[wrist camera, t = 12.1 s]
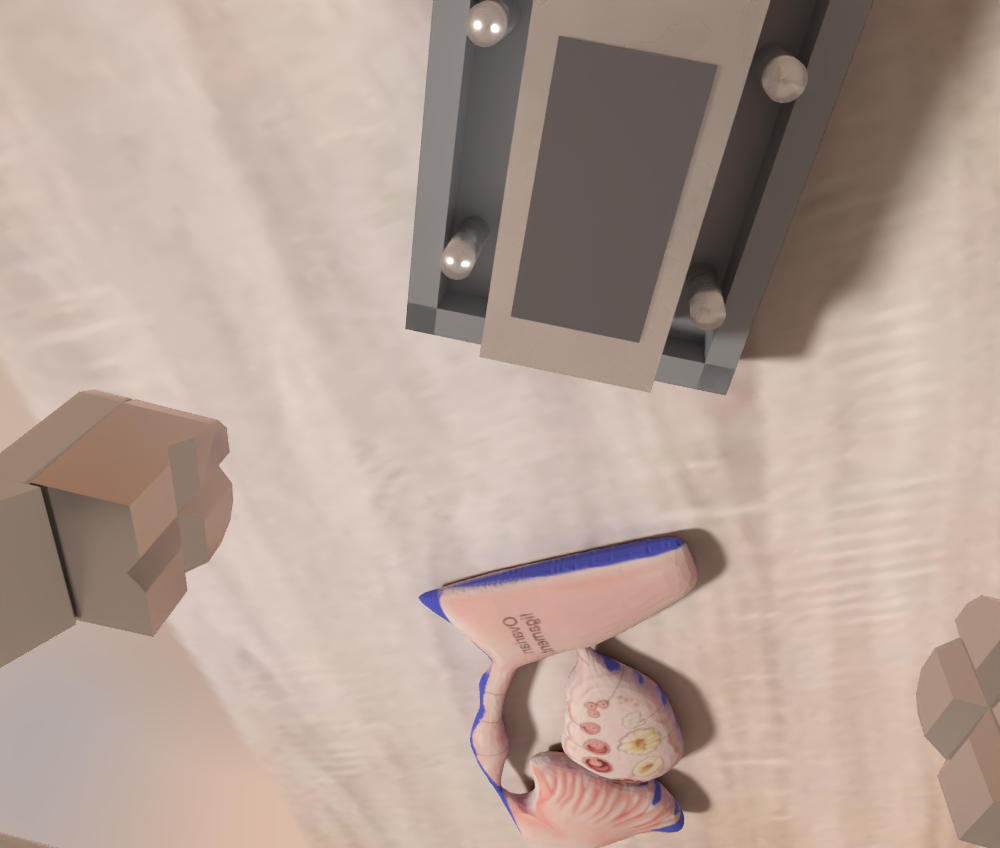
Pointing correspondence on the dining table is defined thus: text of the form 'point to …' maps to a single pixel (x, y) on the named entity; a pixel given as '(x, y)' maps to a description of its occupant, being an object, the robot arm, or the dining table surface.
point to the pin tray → (732, 205)
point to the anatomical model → (579, 688)
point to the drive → (612, 178)
